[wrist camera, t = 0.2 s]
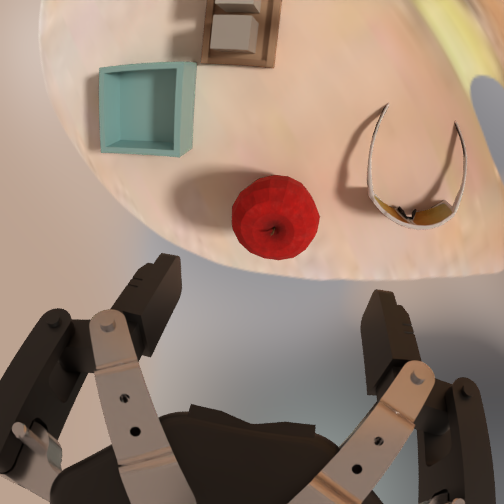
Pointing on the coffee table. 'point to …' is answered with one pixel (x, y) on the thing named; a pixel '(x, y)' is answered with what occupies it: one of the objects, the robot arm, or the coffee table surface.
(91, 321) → the robot arm
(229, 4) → the matte taupe cube
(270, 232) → the apple
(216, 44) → the block
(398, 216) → the sunglasses
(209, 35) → the tray
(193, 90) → the teal open box
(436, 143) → the coffee table surface
